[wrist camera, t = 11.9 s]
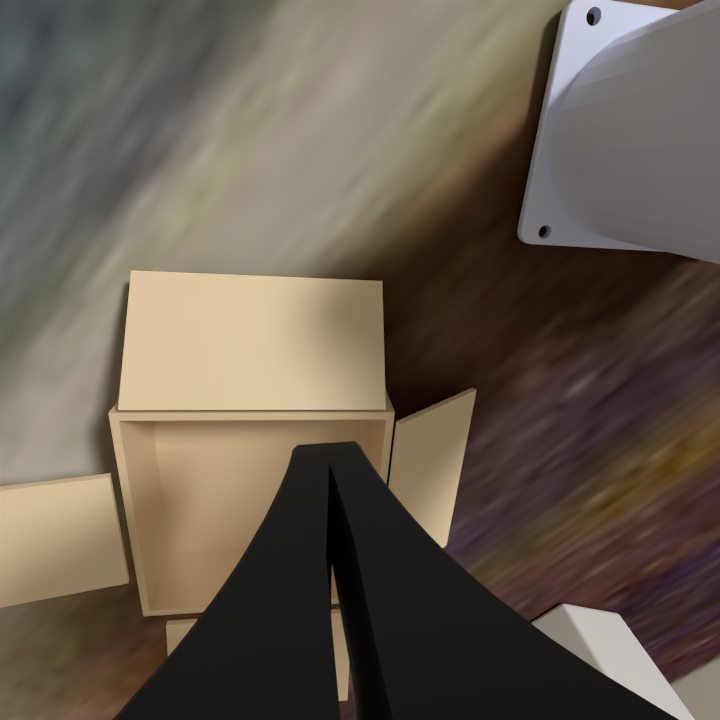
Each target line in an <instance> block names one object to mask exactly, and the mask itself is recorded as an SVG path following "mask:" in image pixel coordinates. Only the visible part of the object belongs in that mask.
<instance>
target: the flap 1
mask: <svg viewBox="0 0 720 720" xmlns="http://www.w3.org/2000/svg"><path fill="white" fill-rule="evenodd" d="M127 583H129V573H128V567H127V562H126V556H125V551H124V545H123V540H122V534H121V528H120V523H119V517H118V512H117V506H116V501H115V495H114V490H113V484H112V479H111V473H108V474H99V475H91V476H83V477H75V478H66V479H58V480H50V481H42V482H33V483H25V484H17V485H8V486H0V608H2V607H7V606H12V605H17V604H23V603H28V602H33V601H38V600H44V599H49V598H54V597H59V596H65V595H70V594H75V593H80V592H85V591H91V590H96V589H101V588H106V587H112V586H117V585H122V584H127Z"/></svg>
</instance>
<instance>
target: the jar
mask: <svg viewBox="0 0 720 720" xmlns="http://www.w3.org/2000/svg"><path fill="white" fill-rule="evenodd" d="M531 624H533V625H534V626H535V627H537V628H538V629H539V630H541V631H542V632H543V633H544V634H546V635H547V636H549V637H550V638H551V639H553V640H554V641H556V642H557V643H559V644H560V645H562V646H563V647H564V648H566V649H567V650H569V651H570V652H572V653H573V654H575V655H576V656H578V657H579V658H581V659H582V660H584V661H585V662H587V663H588V664H589V665H591V666H592V667H594V668H595V669H597V670H598V671H600V672H602V673H603V674H605V675H606V676H608V677H609V678H611V679H613V680H614V681H616V682H618V683H619V684H621V685H623V686H624V687H626V688H628V689H629V690H631V691H633V692H634V693H636V694H637V695H639V696H641V697H642V698H644V699H646V700H647V701H649V702H651V703H652V704H654V705H656V706H657V707H659V708H661V709H662V710H664V711H666V712H667V713H669V714H670V715H672V716H674V717H675V718H677V719H679V720H695V719H694V718H693V717H692V715H691V714H690V712H689V711H688V710H687V708H686V707H685V706H684V704H683V703H682V701H681V700H680V699H679V697H678V696H677V694H676V693H675V692H674V690H673V689H672V687H671V686H670V685H669V683H668V682H667V680H666V679H665V678H664V676H663V675H662V673H661V672H660V671H659V669H658V668H657V667H656V665H655V664H654V662H653V661H652V660H651V658H650V657H649V655H648V654H647V653H646V651H645V650H644V648H643V647H642V646H641V644H640V643H639V641H638V640H637V639H636V637H635V636H634V635H633V633H632V632H631V630H630V629H629V628H628V626H627V625H626V623H625V622H624V621H623V619H622V618H621V616H620V615H619V614H617V613H614V612H608V611H603V610H597V609H592V608H586V607H581V606H575V605H570V604H565V603H562V604H560V605H558V606H556V607H555V608H553V609H552V610H550V611H548V612H547V613H545V614H544V615H542V616H540V617H539V618H537V619H536V620H534V621H532V622H531Z"/></svg>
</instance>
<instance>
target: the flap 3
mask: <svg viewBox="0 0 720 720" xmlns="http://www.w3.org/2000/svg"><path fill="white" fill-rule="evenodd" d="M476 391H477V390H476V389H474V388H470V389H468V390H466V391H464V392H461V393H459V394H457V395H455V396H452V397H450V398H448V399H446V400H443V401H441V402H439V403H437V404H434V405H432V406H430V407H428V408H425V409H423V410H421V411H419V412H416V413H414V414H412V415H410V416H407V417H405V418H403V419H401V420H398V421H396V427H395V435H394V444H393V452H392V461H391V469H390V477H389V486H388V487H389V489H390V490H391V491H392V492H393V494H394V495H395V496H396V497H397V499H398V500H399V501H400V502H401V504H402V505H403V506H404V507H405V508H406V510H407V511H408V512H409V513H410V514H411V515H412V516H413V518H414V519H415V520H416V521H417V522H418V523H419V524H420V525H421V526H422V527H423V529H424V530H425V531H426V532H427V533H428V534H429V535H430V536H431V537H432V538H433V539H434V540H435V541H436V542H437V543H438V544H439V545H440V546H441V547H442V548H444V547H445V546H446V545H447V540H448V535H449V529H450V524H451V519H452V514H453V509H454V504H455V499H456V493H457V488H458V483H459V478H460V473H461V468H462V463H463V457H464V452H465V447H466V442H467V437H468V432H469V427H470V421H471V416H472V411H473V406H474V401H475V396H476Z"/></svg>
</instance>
